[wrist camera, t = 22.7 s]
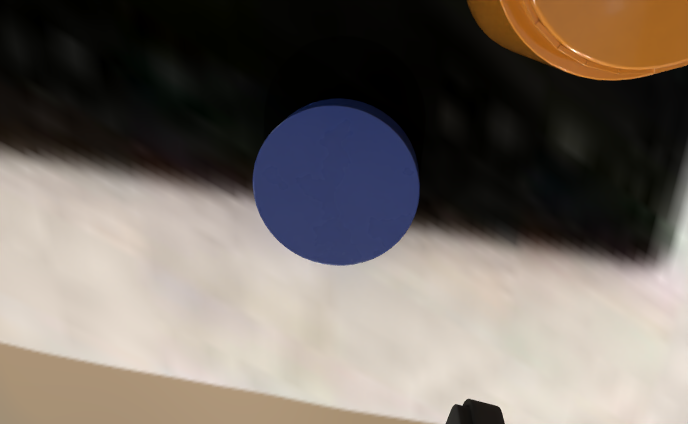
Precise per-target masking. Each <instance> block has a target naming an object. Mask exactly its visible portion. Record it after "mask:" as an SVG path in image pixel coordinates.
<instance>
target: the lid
mask: <svg viewBox="0 0 688 424" xmlns="http://www.w3.org/2000/svg"><path fill="white" fill-rule="evenodd" d="M253 191H254V198H255V202H256V206H257V208H258V211H259V213H260V216H261V218H262V220H263V221H264V223H265V225H266V226H267V228H268V229H269V231H270V232H271V233H272V234H273V235H274V237H275V238H276V239H277V240H278V241H279V242H280V243H282V244H283V245H284V246H285V247H286V248H288V249H289V250H291V251H292V252H294V253H295V254H297V255H299V256H301V257H303V258H305V259H308V260H311V261H313V262H317V263H321V264H327V265H341V266H344V265H354V264H358V263H362V262H366V261H368V260H371V259H374V258H376V257H378V256H380V255H382V254H383V253H385V252H386V251H388V250H389V249H391V248H392V247H393V246H394V245H395V244H396V243H397V242H398V241H399V240H400V239H401V238H402V237H403V236H404V234H405V233H406V231H407V230H408V228H409V227H410V225H411V223H412V221H413V219H414V216H415V214H416V210H417V207H418V202H419V195H420V181H419V168H418V161H417V158H416V154H415V151H414V149H413V146H412V144H411V142H410V140H409V139H408V137H407V135H406V134H405V132H404V131H403V130H402V128H401V127H400V126H399V125H398V124H397V123H396V122H395V121H394V120H393V119H392V118H391V117H389V116H388V115H387V114H385V113H384V112H383V111H381V110H379V109H377V108H375V107H374V106H371V105H369V104H366V103H364V102H360V101H356V100H351V99H342V98H341V99H326V100H320V101H317V102H314V103H310V104H308V105H306V106H304V107H302V108H300V109H298V110H297V111H295V112H294V113H292V114H291V115H290V116H289V117H287V118H286V119H285V120H284V121H283V122H282V123H280V124H279V125H278V126H277V127H276V128H275V129H274V130H273V131H272V132H271V133H270V134H269V136H268V137H267V139H266V140H265V142H264V143H263V145H262V147H261V149H260V151H259V153H258V155H257V159H256V162H255V166H254V172H253Z"/></svg>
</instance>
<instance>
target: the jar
mask: <svg viewBox="0 0 688 424" xmlns="http://www.w3.org/2000/svg"><path fill="white" fill-rule="evenodd" d="M467 3H468V6H469V8H470V10H471V13H472V15H473V17H474V18H475V20H476V22H477V23H478V25H479V26H480V27H481V29H482V30H483V31H484V32H485V33H486V34H487V35H488V36H489V37H490V38H491V39H492V40H493V41H495V42H496V43H498V44H499V45H501V46H503V47H505V48H507V49H509V50H511V51H513V52H516V53H518V54H521V55H523V56H526V57H529V58H531V59H534V60H536V61H539V62H541V63H544V64H547V65H549V66H552V67H554V68H557V69H559V70H562V71H565V72H568V73H571V74H574V75H577V76H580V77H585V78H590V79H596V80H626V79H634V78H639V77H644V76H649V75H652V74H656V73H660V72H663V71H667V70H671V69H674V68H678V67H682V66H685V65H688V0H467Z"/></svg>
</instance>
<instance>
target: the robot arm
mask: <svg viewBox="0 0 688 424" xmlns="http://www.w3.org/2000/svg"><path fill="white" fill-rule="evenodd" d="M446 424H505V423H504V419H503V415H502V412H501V409H500V408H499V407H498V406H495V405H491V404H487V403H483V402H479V401H475V400H471V399H467V400H466V401H465V402H464V404H463V406H461V405H457V404H455V405H454V406H453V407H452V409H451V412H450V414H449V417H448V419H447V422H446Z"/></svg>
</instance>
